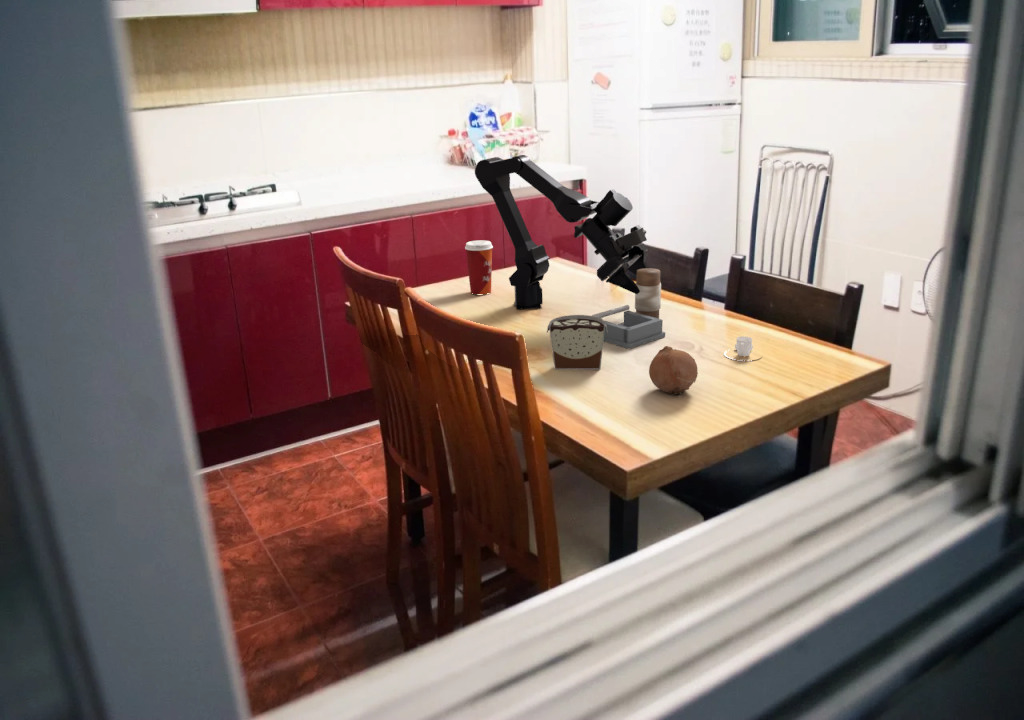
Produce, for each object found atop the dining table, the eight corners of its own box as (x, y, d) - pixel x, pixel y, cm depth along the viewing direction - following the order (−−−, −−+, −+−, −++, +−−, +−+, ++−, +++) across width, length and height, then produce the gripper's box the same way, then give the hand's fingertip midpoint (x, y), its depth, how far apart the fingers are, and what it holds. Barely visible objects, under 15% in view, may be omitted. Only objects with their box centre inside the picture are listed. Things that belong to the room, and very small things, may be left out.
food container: (607, 359, 176) (607, 313, 172) (607, 369, 170) (607, 322, 167) (549, 359, 177) (548, 314, 174) (547, 369, 171) (546, 323, 168)
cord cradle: (589, 336, 190) (589, 314, 188) (626, 325, 197) (627, 304, 196) (628, 349, 181) (628, 326, 180) (665, 336, 188) (666, 314, 187)
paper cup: (494, 296, 225) (492, 245, 221) (466, 297, 226) (463, 246, 221) (495, 288, 233) (493, 239, 228) (468, 289, 233) (465, 240, 228)
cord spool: (638, 326, 196) (639, 274, 192) (632, 319, 202) (632, 268, 198) (663, 324, 197) (664, 273, 192) (656, 317, 202) (657, 267, 198)
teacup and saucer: (738, 347, 181) (739, 329, 180) (771, 355, 176) (773, 336, 175) (716, 357, 176) (717, 339, 174) (749, 366, 170) (751, 347, 169)
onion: (657, 400, 162) (644, 352, 162) (702, 388, 160) (690, 340, 160) (655, 401, 153) (641, 351, 153) (703, 389, 151) (690, 338, 152)
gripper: (609, 223, 186) (654, 275, 184) (640, 209, 201) (683, 258, 200) (577, 255, 193) (621, 306, 191) (610, 239, 208) (651, 286, 206)
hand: (646, 288), depth 197 cm, fingers open, 9 cm apart
